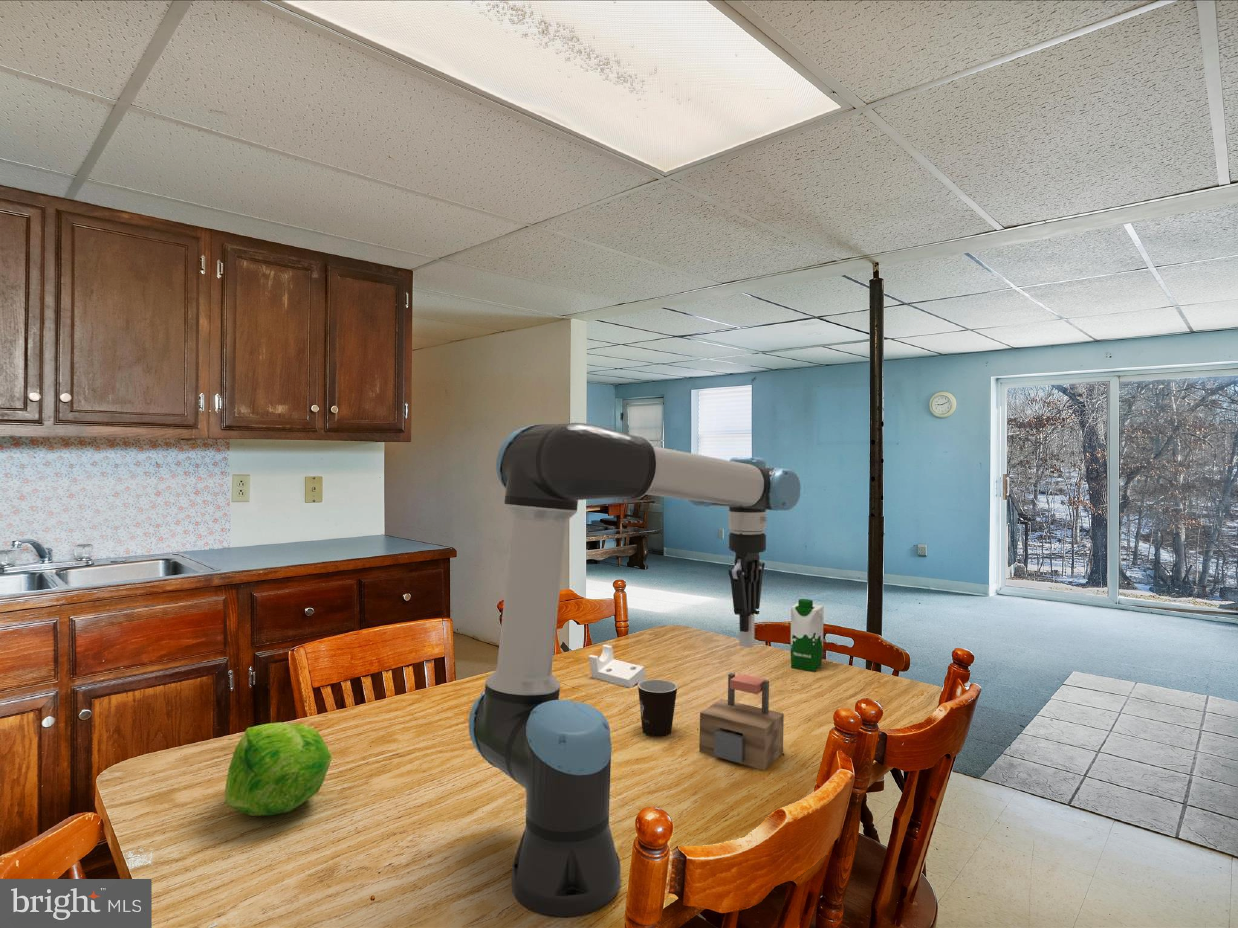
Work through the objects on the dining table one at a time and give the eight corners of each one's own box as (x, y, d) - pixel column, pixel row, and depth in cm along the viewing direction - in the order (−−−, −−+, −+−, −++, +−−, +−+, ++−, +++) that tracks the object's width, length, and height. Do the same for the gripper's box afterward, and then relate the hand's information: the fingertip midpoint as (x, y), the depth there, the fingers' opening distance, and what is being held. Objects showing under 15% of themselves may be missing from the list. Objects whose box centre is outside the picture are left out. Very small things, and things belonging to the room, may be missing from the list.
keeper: (757, 694, 135) (757, 685, 135) (729, 688, 138) (730, 679, 138) (766, 687, 139) (766, 679, 139) (739, 682, 142) (740, 673, 142)
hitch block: (763, 770, 128) (765, 695, 128) (699, 751, 136) (700, 680, 136) (783, 752, 136) (784, 681, 136) (720, 735, 144) (722, 668, 144)
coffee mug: (673, 741, 141) (674, 693, 141) (634, 736, 143) (634, 690, 143) (680, 720, 152) (680, 676, 152) (642, 717, 154) (643, 673, 154)
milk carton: (787, 668, 194) (788, 599, 194) (796, 660, 202) (797, 594, 202) (817, 673, 189) (818, 603, 189) (825, 665, 197) (826, 598, 197)
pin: (741, 763, 129) (742, 738, 129) (714, 754, 132) (714, 730, 132) (771, 737, 142) (772, 715, 142) (745, 730, 145) (745, 708, 145)
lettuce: (296, 773, 124) (319, 702, 124) (322, 838, 108) (349, 757, 108) (207, 775, 115) (233, 698, 115) (222, 846, 99) (252, 758, 99)
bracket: (592, 681, 182) (588, 656, 181) (608, 668, 188) (604, 644, 186) (630, 691, 174) (626, 665, 173) (645, 678, 180) (642, 653, 178)
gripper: (751, 536, 129) (750, 656, 129) (776, 530, 140) (776, 641, 140) (716, 533, 134) (715, 650, 134) (743, 528, 144) (743, 636, 144)
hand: (746, 645), depth 137 cm, fingers closed
